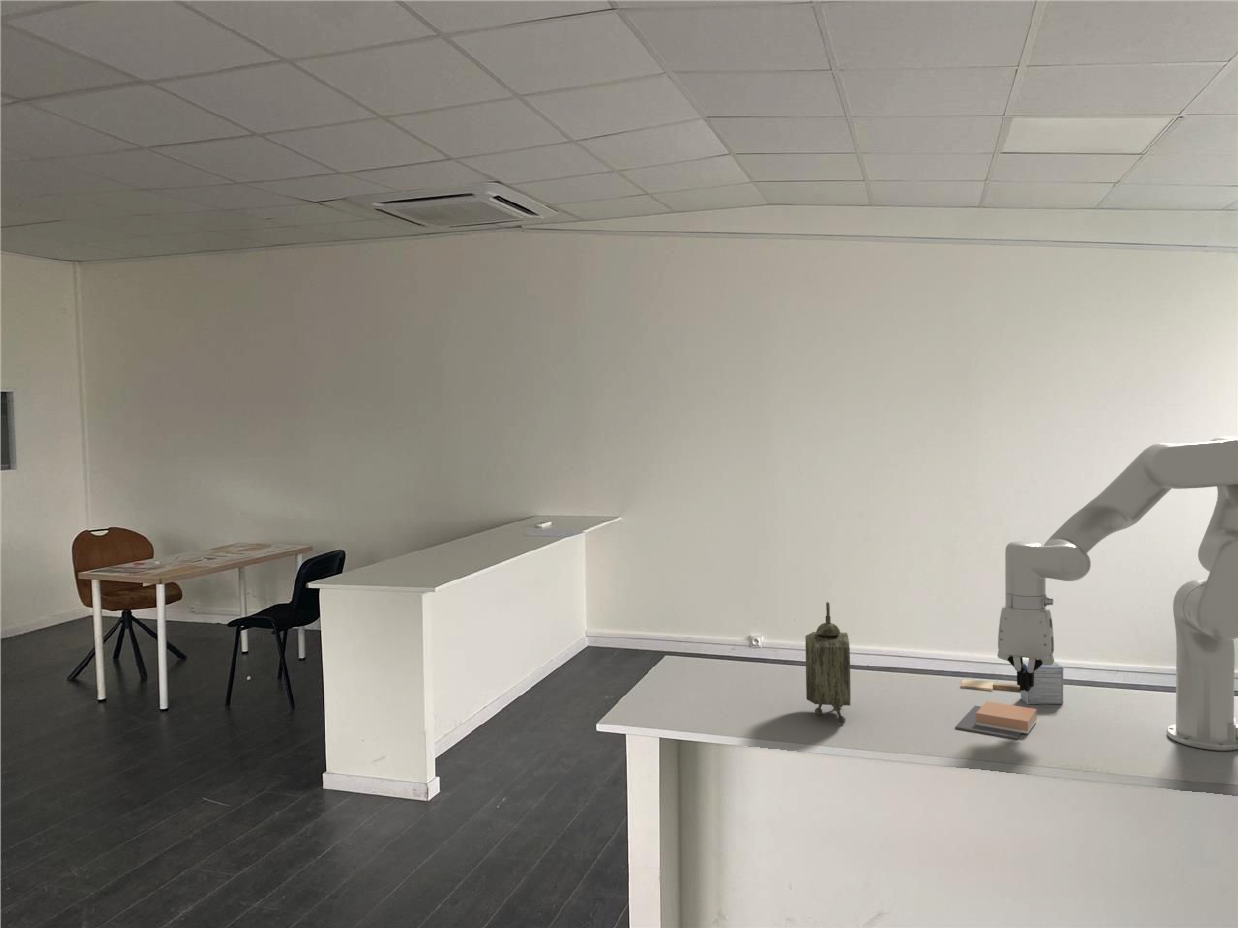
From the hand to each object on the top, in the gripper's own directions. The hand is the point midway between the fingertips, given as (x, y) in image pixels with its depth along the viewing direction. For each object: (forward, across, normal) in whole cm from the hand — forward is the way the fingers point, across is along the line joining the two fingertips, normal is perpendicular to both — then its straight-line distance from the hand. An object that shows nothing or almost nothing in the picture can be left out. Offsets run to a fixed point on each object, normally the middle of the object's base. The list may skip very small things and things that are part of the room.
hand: (1025, 689), depth 182 cm
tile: (+6, -1, 0) cm, 7 cm away
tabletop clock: (+8, +38, +14) cm, 41 cm away
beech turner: (+8, +12, -25) cm, 29 cm away
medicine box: (+8, 0, -20) cm, 22 cm away
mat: (+8, +6, 0) cm, 10 cm away
